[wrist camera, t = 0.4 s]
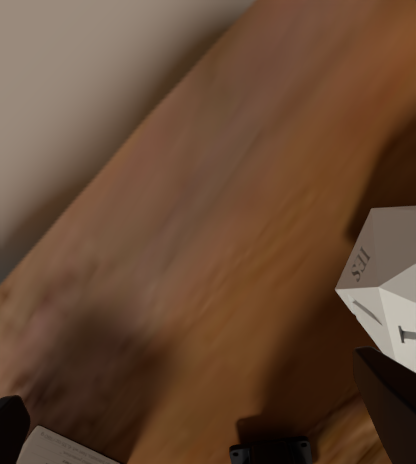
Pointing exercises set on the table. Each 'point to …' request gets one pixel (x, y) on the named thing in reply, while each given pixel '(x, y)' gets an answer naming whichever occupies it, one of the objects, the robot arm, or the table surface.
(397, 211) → the grey faceted block
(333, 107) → the table surface
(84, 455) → the supplement box
